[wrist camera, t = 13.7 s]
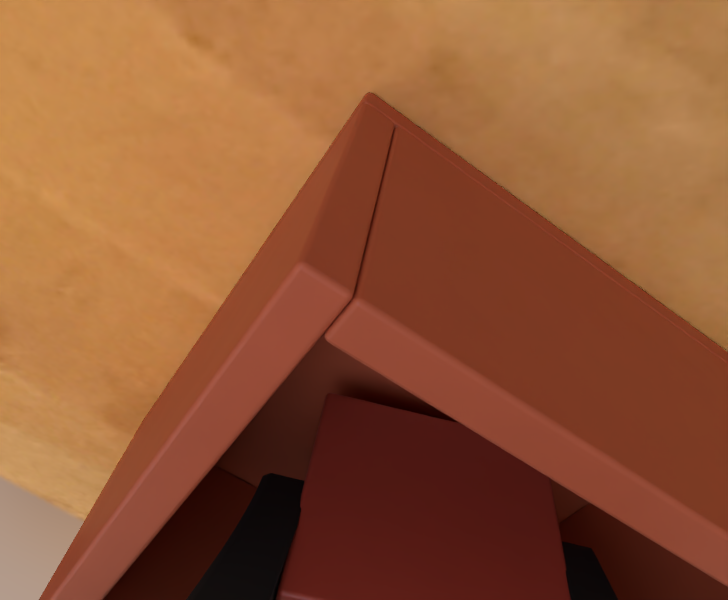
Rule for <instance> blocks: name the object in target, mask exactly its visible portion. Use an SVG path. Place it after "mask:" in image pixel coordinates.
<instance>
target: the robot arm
mask: <svg viewBox="0 0 728 600" xmlns="http://www.w3.org/2000/svg"><path fill="white" fill-rule="evenodd" d="M303 485H304V481H303V480H299V479H295V478H291V477H286V476H282V475H278V474H274V473H269V474H267V475H264V476H263V477H262V479H261V481H260V483H259V486H258V488H257V490H256V492H255V494H254V496H253V498H252V500H251V502H250V504H249V505H248V507H247V509H246V511H245V513H244V514H243V516H242V518H241V519H240V521H239V523H238V524H237V526H236V528H235V529H234V531H233V532H232V534H231V535H230V537H229V539H228V540H227V542H226V543H225V545H224V546H223V548H222V550H221V551H220V552H219V554H218V555H217V557H216V558H215V560H214V561H213V562H212V564H211V565H210V567H209V568H208V570H207V571H206V572H205V574H204V575H203V577H202V578H201V580H200V581H199V582H198V584H197V585H196V587H195V588H194V590H193V591H192V592H191V594H190V595H189V596H188V598H187V599H186V600H275V598H276V594H277V590H278V586H279V582H280V578H281V574H282V570H283V566H284V563H285V560H286V557H287V554H288V552H289V549H290V546H291V543H292V540H293V537H294V534H295V532H296V529H297V525H298V521H299V517H300V513H301V507H300V501H301V493H302V489H303ZM562 546H563V552H564V557H565V563H566V568H567V570H566V576H567V582H568V588H569V593H570V597H571V600H618V598H617V596H616V594H615V592H614V590H613V588H612V586H611V584H610V582H609V580H608V579H607V577H606V575H605V573H604V571H603V569H602V567H601V565H600V563H599V561H598V559H597V557H596V555H595V553H594V552H593V550H592V548H589V547H585V546H580V545H576V544H572V543H568V542H563V541H562Z"/></svg>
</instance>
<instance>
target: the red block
mask: <svg viewBox="0 0 728 600" xmlns="http://www.w3.org/2000/svg"><path fill="white" fill-rule="evenodd" d="M300 507H301V513H300V517H299V521H298V525H297V529H296V532H295V534H294V537H293V540H292V543H291V546H290V549H289V552H288V554H287V557H286V560H285V563H284V566H283V570H282V574H281V578H280V582H279V586H278V590H277V594H276V598H275V600H571V597H570V593H569V588H568V582H567V576H566V570H567V568H566V563H565V557H564V552H563V546H562V540H561V535H560V529H559V524H558V518H557V513H556V507H555V501H554V496H553V490H552V485H551V479H550V478H549V477H547V476H546V475H544V474H542V473H541V472H539V471H537V470H536V469H534V468H533V467H531V466H529V465H528V464H526V463H524V462H523V461H521V460H519V459H518V458H516V457H515V456H513V455H511V454H510V453H508V452H506V451H505V450H503V449H501V448H500V447H498V446H497V445H495V444H493V443H492V442H490V441H488V440H487V439H485V438H484V437H482V436H480V435H479V434H477V433H475V432H474V431H472V430H470V429H469V428H467V427H466V426H464V425H462V424H461V423H457V422H453V421H449V420H445V419H441V418H436V417H432V416H428V415H424V414H419V413H415V412H411V411H407V410H402V409H398V408H394V407H390V406H386V405H381V404H377V403H373V402H369V401H364V400H360V399H356V398H352V397H348V396H343V395H339V394H335V393H328V394H327V395H326V397H325V401H324V405H323V409H322V413H321V417H320V421H319V425H318V429H317V433H316V437H315V441H314V445H313V449H312V453H311V457H310V461H309V465H308V469H307V473H306V477H305V481H304V485H303V489H302V493H301V501H300Z"/></svg>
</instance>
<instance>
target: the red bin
mask: <svg viewBox="0 0 728 600" xmlns="http://www.w3.org/2000/svg"><path fill="white" fill-rule="evenodd" d="M328 393H335V394H339V395H343V396H348V397H352V398H356V399H360V400H364V401H369V402H373V403H377V404H381V405H386V406H390V407H394V408H398V409H402V410H407V411H411V412H415V413H419V414H424V415H428V416H432V417H436V418H441V419H445V420H449V421H453V422H457V423H461V424H462V425H464V426H466V427H467V428H469V429H470V430H472V431H474V432H475V433H477V434H479V435H480V436H482V437H484V438H485V439H487V440H488V441H490V442H492V443H493V444H495V445H497V446H498V447H500V448H501V449H503V450H505V451H506V452H508V453H510V454H511V455H513V456H515V457H516V458H518V459H519V460H521V461H523V462H524V463H526V464H528V465H529V466H531V467H533V468H534V469H536V470H537V471H539V472H541V473H542V474H544V475H546V476H547V477H549V478H550V479H551V485H552V490H553V496H554V501H555V507H556V513H557V518H558V524H559V529H560V535H561V540H562V541H563V542H568V543H572V544H576V545H580V546H585V547H589V548H592V550H593V552H594V553H595V555H596V557H597V559H598V561H599V563H600V565H601V567H602V569H603V571H604V573H605V575H606V577H607V579H608V580H609V582H610V584H611V586H612V588H613V590H614V592H615V594H616V596H617V598H618V600H728V352H727V351H725V350H724V349H723V348H721V347H720V346H718V345H717V344H716V343H714V342H713V341H712V340H710V339H709V338H707V337H706V336H705V335H703V334H702V333H701V332H699V331H698V330H696V329H695V328H694V327H692V326H691V325H690V324H688V323H687V322H685V321H684V320H683V319H681V318H680V317H679V316H677V315H676V314H675V313H673V312H672V311H670V310H669V309H668V308H666V307H665V306H664V305H662V304H661V303H659V302H658V301H657V300H655V299H654V298H653V297H651V296H650V295H648V294H647V293H646V292H644V291H643V290H642V289H640V288H639V287H637V286H636V285H635V284H633V283H632V282H631V281H629V280H628V279H626V278H625V277H624V276H622V275H621V274H620V273H618V272H617V271H616V270H614V269H613V268H611V267H610V266H609V265H607V264H606V263H605V262H603V261H602V260H600V259H599V258H598V257H596V256H595V255H594V254H592V253H591V252H589V251H588V250H587V249H585V248H584V247H583V246H581V245H580V244H578V243H577V242H576V241H574V240H573V239H572V238H570V237H569V236H568V235H566V234H565V233H563V232H562V231H561V230H559V229H558V228H557V227H555V226H554V225H552V224H551V223H550V222H548V221H547V220H546V219H544V218H543V217H541V216H540V215H539V214H537V213H536V212H535V211H533V210H532V209H530V208H529V207H528V206H526V205H525V204H524V203H522V202H521V201H519V200H518V199H517V198H515V197H514V196H513V195H511V194H510V193H509V192H507V191H506V190H504V189H503V188H502V187H500V186H499V185H498V184H496V183H495V182H493V181H492V180H491V179H489V178H488V177H487V176H485V175H484V174H482V173H481V172H480V171H478V170H477V169H476V168H474V167H473V166H471V165H470V164H469V163H467V162H466V161H465V160H463V159H462V158H460V157H459V156H458V155H456V154H455V153H454V152H452V151H451V150H450V149H448V148H447V147H445V146H444V145H443V144H441V143H440V142H439V141H437V140H436V139H434V138H433V137H432V136H430V135H429V134H428V133H426V132H425V131H423V130H422V129H421V128H419V127H418V126H417V125H415V124H414V123H412V122H411V121H410V120H408V119H407V118H406V117H404V116H403V115H401V114H400V113H399V112H397V111H396V110H395V109H393V108H392V107H391V106H389V105H388V104H386V103H385V102H384V101H382V100H381V99H380V98H378V97H377V96H375V95H374V94H373V93H367V94H366V95H365V96H364V98H363V99H362V101H361V102H360V104H359V105H358V106H357V108H356V109H355V111H354V112H353V114H352V115H351V117H350V118H349V120H348V121H347V123H346V124H345V125H344V127H343V128H342V130H341V131H340V133H339V134H338V136H337V137H336V139H335V140H334V142H333V143H332V145H331V146H330V147H329V149H328V150H327V152H326V153H325V155H324V156H323V158H322V159H321V161H320V162H319V164H318V165H317V167H316V168H315V169H314V171H313V172H312V174H311V175H310V177H309V178H308V180H307V181H306V183H305V184H304V186H303V187H302V188H301V190H300V191H299V193H298V194H297V196H296V197H295V199H294V200H293V202H292V203H291V205H290V206H289V208H288V209H287V210H286V212H285V213H284V215H283V216H282V218H281V219H280V221H279V222H278V224H277V225H276V227H275V228H274V230H273V231H272V232H271V234H270V235H269V237H268V238H267V240H266V241H265V243H264V244H263V246H262V247H261V249H260V250H259V251H258V253H257V254H256V256H255V257H254V259H253V260H252V262H251V263H250V265H249V266H248V268H247V269H246V271H245V272H244V273H243V275H242V276H241V278H240V279H239V281H238V282H237V284H236V285H235V287H234V288H233V290H232V291H231V293H230V294H229V295H228V297H227V298H226V300H225V301H224V303H223V304H222V306H221V307H220V309H219V310H218V312H217V313H216V314H215V316H214V317H213V319H212V320H211V322H210V323H209V325H208V326H207V328H206V329H205V331H204V332H203V334H202V335H201V336H200V338H199V339H198V341H197V342H196V344H195V345H194V347H193V348H192V350H191V351H190V353H189V354H188V356H187V357H186V358H185V360H184V361H183V363H182V364H181V366H180V367H179V369H178V370H177V372H176V373H175V375H174V376H173V378H172V379H171V380H170V382H169V383H168V385H167V386H166V388H165V389H164V391H163V392H162V394H161V395H160V397H159V398H158V399H157V401H156V402H155V404H154V405H153V407H152V408H151V410H150V411H149V413H148V414H147V416H146V417H145V419H144V420H143V421H142V423H141V425H140V427H139V428H138V430H137V432H136V433H135V435H134V437H133V439H132V440H131V442H130V444H129V446H128V447H127V449H126V451H125V452H124V454H123V456H122V458H121V459H120V461H119V463H118V464H117V466H116V468H115V470H114V471H113V473H112V475H111V477H110V478H109V480H108V482H107V483H106V485H105V487H104V489H103V490H102V492H101V494H100V495H99V497H98V499H97V501H96V502H95V504H94V506H93V508H92V509H91V511H90V513H89V514H88V516H87V518H86V520H85V521H84V523H83V525H82V526H81V528H80V530H79V532H78V534H77V535H76V537H75V539H74V540H73V542H72V544H71V545H70V547H69V549H68V551H67V552H66V554H65V556H64V558H63V560H62V561H61V563H60V564H59V566H58V568H57V570H56V571H55V573H54V575H53V576H52V578H51V580H50V582H49V583H48V585H47V587H46V589H45V591H44V592H43V594H42V595H41V597H40V599H39V600H186V599H187V598H188V596H189V595H190V594H191V592H192V591H193V590H194V588H195V587H196V585H197V584H198V582H199V581H200V580H201V578H202V577H203V575H204V574H205V572H206V571H207V570H208V568H209V567H210V565H211V564H212V562H213V561H214V560H215V558H216V557H217V555H218V554H219V552H220V551H221V550H222V548H223V546H224V545H225V543H226V542H227V540H228V539H229V537H230V535H231V534H232V532H233V531H234V529H235V528H236V526H237V524H238V523H239V521H240V519H241V518H242V516H243V514H244V513H245V511H246V509H247V507H248V505H249V504H250V502H251V500H252V498H253V496H254V494H255V492H256V490H257V488H258V486H259V483H260V481H261V479H262V477H263V476H264V475H267V474H269V473H274V474H278V475H282V476H286V477H291V478H295V479H299V480H303V481H305V477H306V473H307V469H308V465H309V461H310V457H311V453H312V449H313V445H314V441H315V437H316V433H317V429H318V425H319V421H320V417H321V413H322V409H323V405H324V401H325V397H326V395H327V394H328Z"/></svg>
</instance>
